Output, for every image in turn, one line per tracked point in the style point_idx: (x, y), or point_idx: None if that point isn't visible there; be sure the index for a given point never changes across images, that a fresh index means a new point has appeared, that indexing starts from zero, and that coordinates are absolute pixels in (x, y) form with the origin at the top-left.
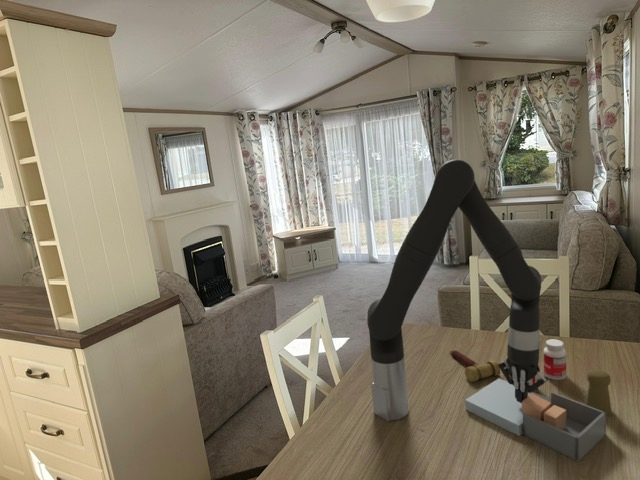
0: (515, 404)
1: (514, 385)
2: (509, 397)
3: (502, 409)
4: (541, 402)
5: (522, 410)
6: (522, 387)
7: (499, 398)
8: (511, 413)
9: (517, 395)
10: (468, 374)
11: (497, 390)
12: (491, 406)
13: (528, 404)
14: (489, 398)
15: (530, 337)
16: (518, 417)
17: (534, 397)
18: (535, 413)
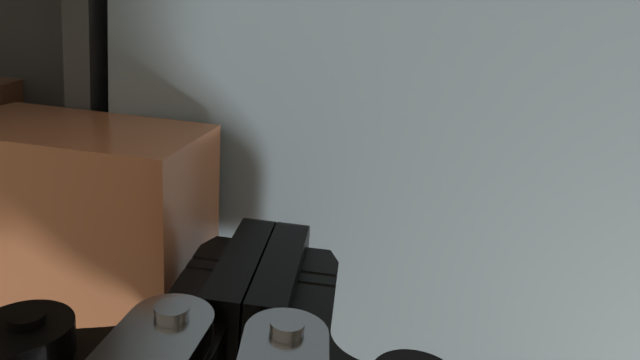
0: (335, 217)
1: (322, 346)
2: (441, 297)
3: (408, 36)
4: (3, 298)
5: (200, 127)
6: (150, 343)
7: (525, 221)
8: (291, 27)
9: (287, 259)
10: None
11: (601, 345)
12: (544, 11)
13: (74, 151)
14: (626, 155)
15: None
16: (193, 1)
17: None
18: (26, 120)
